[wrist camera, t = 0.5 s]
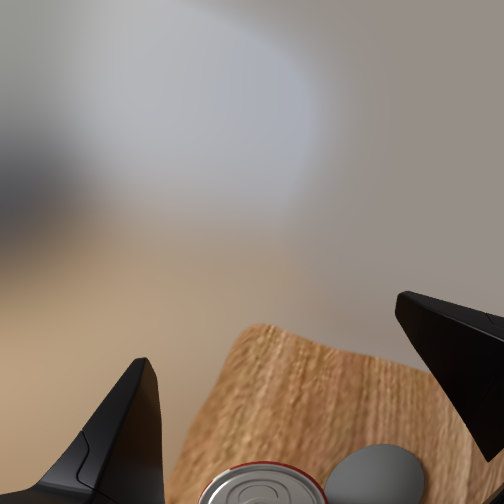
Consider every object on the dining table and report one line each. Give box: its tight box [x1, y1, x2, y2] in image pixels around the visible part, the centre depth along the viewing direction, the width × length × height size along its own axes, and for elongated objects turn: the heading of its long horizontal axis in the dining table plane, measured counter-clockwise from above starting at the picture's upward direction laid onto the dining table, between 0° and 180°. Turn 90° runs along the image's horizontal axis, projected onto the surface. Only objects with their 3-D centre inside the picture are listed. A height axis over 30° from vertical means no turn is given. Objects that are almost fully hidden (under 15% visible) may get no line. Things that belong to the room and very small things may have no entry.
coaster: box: [324, 444, 424, 504], centre depth 13 cm, size 8×8×1 cm
